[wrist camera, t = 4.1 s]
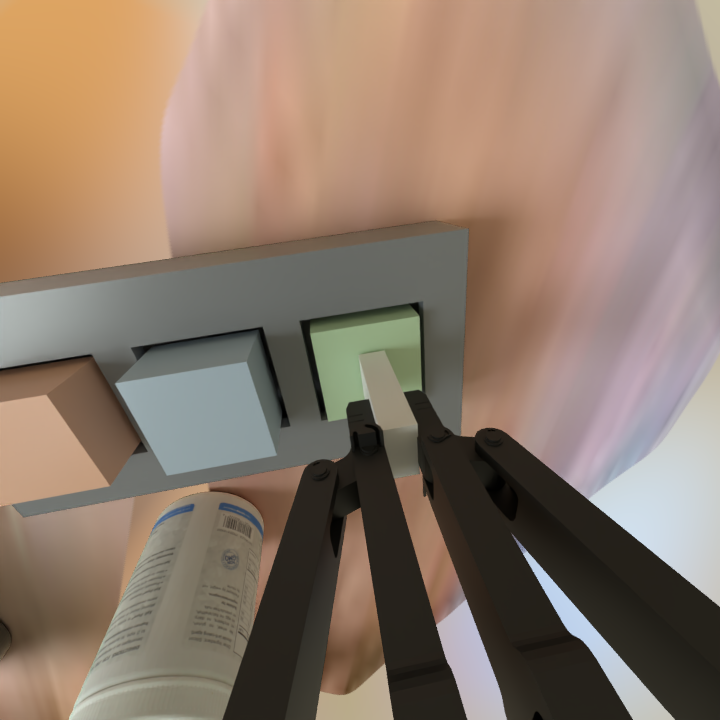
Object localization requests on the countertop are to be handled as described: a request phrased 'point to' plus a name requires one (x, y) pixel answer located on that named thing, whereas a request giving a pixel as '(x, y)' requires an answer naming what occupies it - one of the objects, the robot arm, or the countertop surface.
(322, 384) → the green button
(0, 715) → the countertop surface
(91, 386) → the terracotta button
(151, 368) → the slate button
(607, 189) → the countertop surface
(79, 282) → the console
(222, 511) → the supplement tub
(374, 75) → the countertop surface
